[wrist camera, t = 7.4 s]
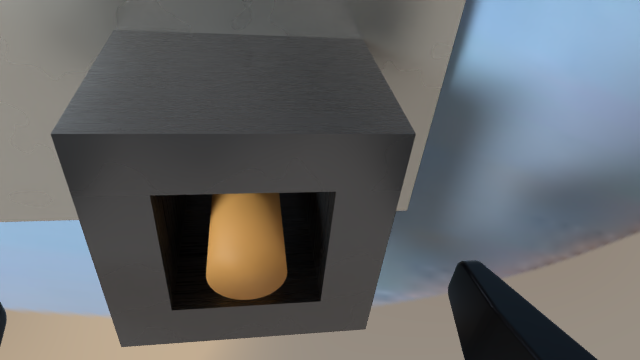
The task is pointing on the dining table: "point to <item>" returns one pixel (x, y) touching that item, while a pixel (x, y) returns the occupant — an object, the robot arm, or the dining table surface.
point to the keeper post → (246, 245)
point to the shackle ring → (233, 176)
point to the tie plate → (191, 17)
